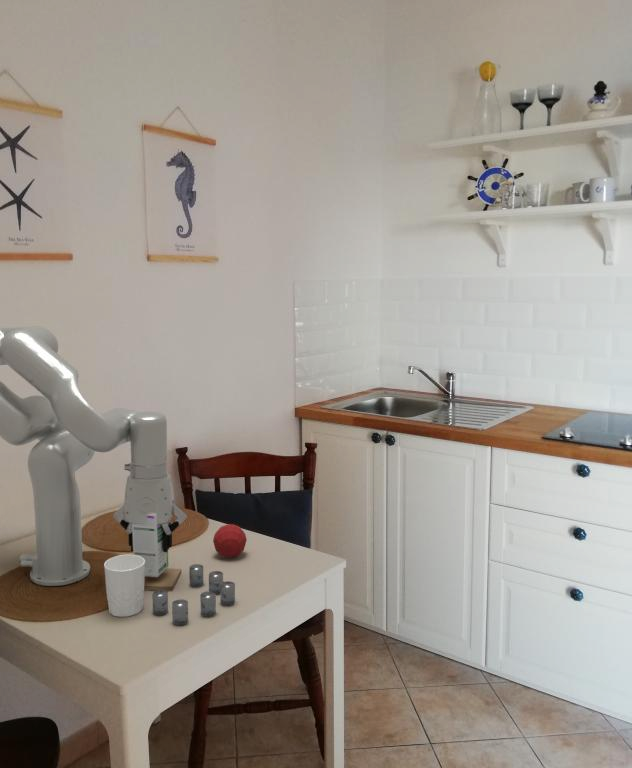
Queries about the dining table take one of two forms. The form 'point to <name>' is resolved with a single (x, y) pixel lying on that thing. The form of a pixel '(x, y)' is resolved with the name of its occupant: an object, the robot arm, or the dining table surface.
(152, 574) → the syrup box
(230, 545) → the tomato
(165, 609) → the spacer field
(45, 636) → the dining table surface
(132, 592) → the white cup
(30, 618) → the dining table surface
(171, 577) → the tan board
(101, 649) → the dining table surface
